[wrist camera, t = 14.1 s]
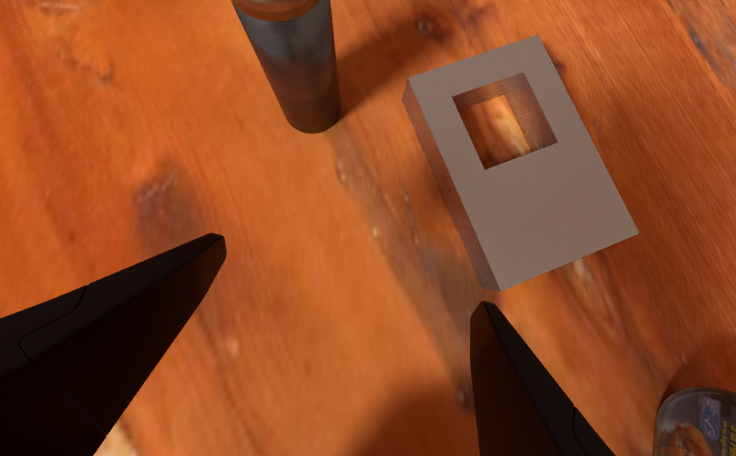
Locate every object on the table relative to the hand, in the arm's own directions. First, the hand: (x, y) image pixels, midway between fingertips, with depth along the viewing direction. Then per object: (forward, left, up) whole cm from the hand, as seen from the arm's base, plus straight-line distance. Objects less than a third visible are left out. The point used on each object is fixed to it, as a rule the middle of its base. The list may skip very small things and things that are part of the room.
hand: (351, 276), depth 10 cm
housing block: (+15, +4, -14) cm, 21 cm away
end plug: (+2, +15, -14) cm, 20 cm away
